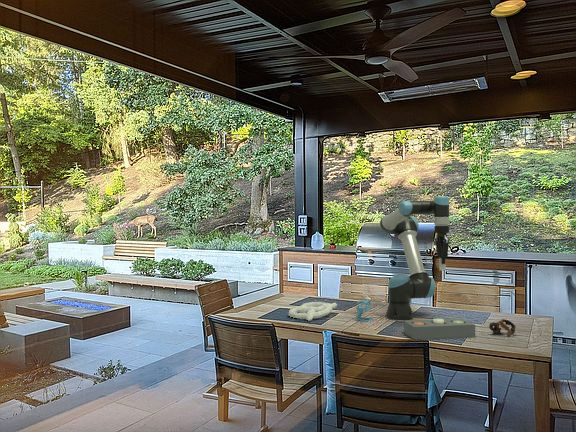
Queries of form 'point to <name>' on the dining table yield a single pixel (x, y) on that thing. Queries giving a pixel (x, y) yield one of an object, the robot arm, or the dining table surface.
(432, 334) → the button console
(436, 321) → the cream button
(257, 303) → the dining table surface
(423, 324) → the terracotta button
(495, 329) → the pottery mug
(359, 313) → the teal overhanging stand
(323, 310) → the pretzel
